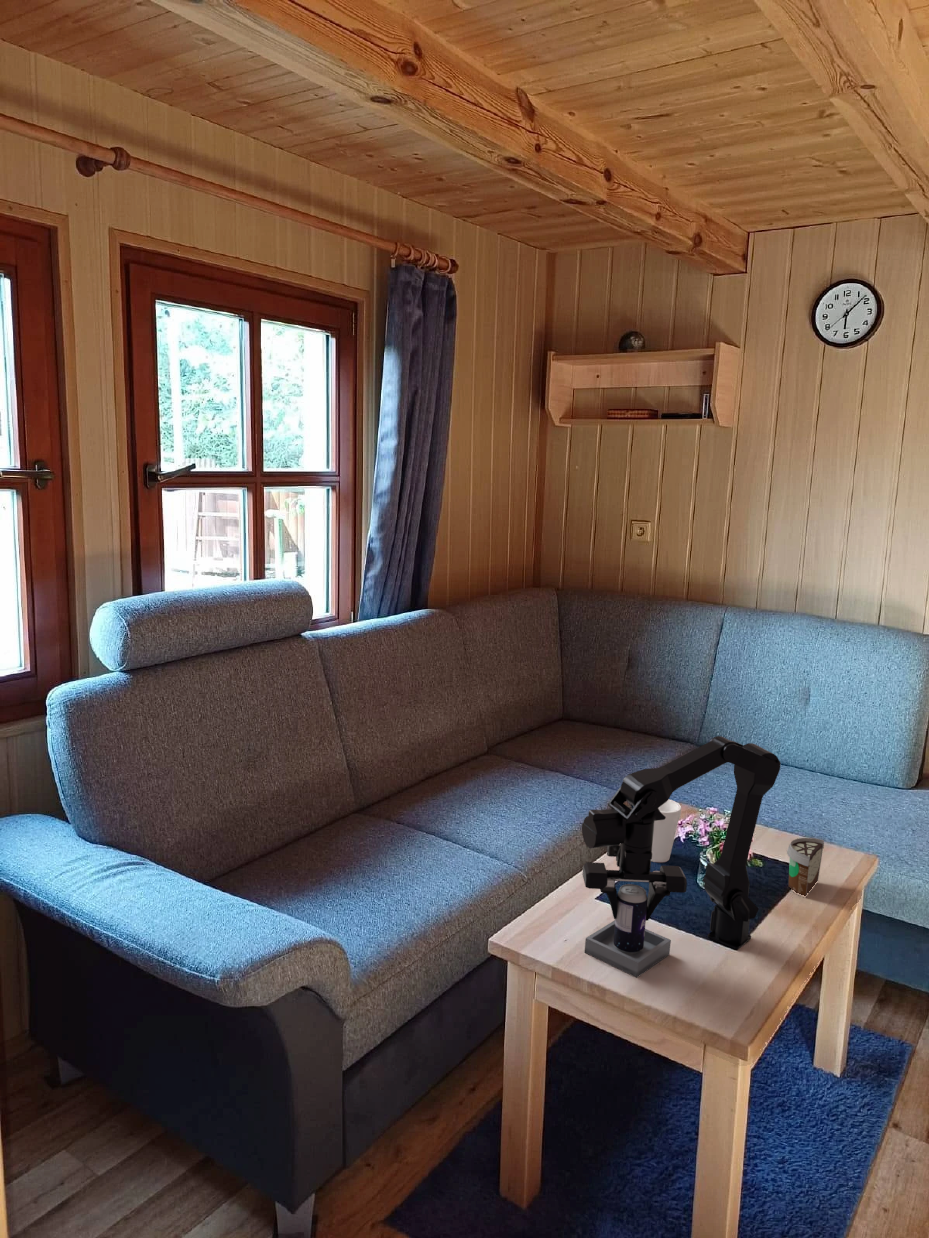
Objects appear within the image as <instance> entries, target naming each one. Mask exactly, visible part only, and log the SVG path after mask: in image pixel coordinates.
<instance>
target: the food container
mask: <svg viewBox="0 0 929 1238" xmlns="http://www.w3.org/2000/svg"><path fill="white" fill-rule="evenodd" d="M824 842H825V840H824V839H820V838H814V837H799V838H795V839H793V840H791V842H790V843H789V844H788V847H787V850H786V854H787V856H788V857H789V862H788V864H789V865H788V866H789V867H788V868H789V869H788V888H789V887H790V888H791V889H792V890H794V891H795V892H796V893H799V894H801V895H804V896H806V895H807V893H809V891H810V890H811V889H812V887H813V886H814V885H815V883H816V882H817V881H818V882H819V877H820V870H821V862H822V859H823V851H824V850H823V849H824V848H825V843H824ZM809 894H810V893H809Z"/></svg>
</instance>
